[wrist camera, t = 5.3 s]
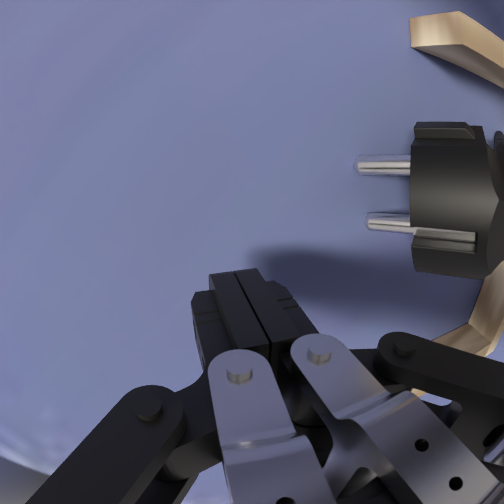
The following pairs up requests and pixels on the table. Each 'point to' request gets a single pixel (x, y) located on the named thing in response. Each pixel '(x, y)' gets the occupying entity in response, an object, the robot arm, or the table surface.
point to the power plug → (447, 199)
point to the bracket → (500, 73)
